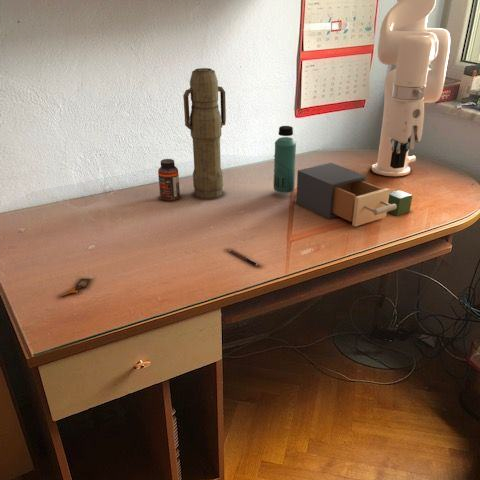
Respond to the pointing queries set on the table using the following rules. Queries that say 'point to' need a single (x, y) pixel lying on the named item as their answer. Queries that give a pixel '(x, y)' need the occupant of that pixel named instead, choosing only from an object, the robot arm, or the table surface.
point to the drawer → (361, 202)
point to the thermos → (205, 131)
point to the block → (400, 202)
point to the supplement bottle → (168, 180)
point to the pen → (245, 258)
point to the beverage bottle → (284, 161)
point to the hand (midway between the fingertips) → (396, 167)
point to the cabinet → (322, 186)
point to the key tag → (81, 284)
